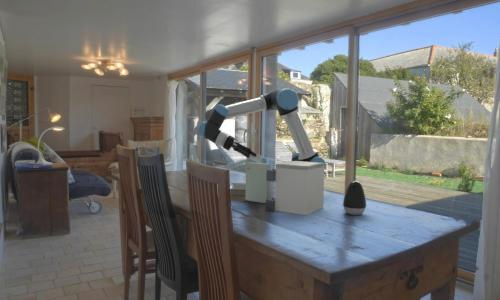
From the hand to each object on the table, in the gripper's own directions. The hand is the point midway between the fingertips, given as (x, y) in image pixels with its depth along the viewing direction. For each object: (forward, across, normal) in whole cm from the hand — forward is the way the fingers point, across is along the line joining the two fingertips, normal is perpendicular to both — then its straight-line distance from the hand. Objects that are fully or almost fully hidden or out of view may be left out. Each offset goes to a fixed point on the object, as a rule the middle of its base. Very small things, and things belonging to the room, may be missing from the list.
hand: (261, 160), depth 202 cm
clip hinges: (+16, +15, -20) cm, 30 cm away
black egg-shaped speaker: (+49, +22, -4) cm, 54 cm away
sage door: (+8, -4, -20) cm, 22 cm away
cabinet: (+27, +14, -13) cm, 33 cm away
